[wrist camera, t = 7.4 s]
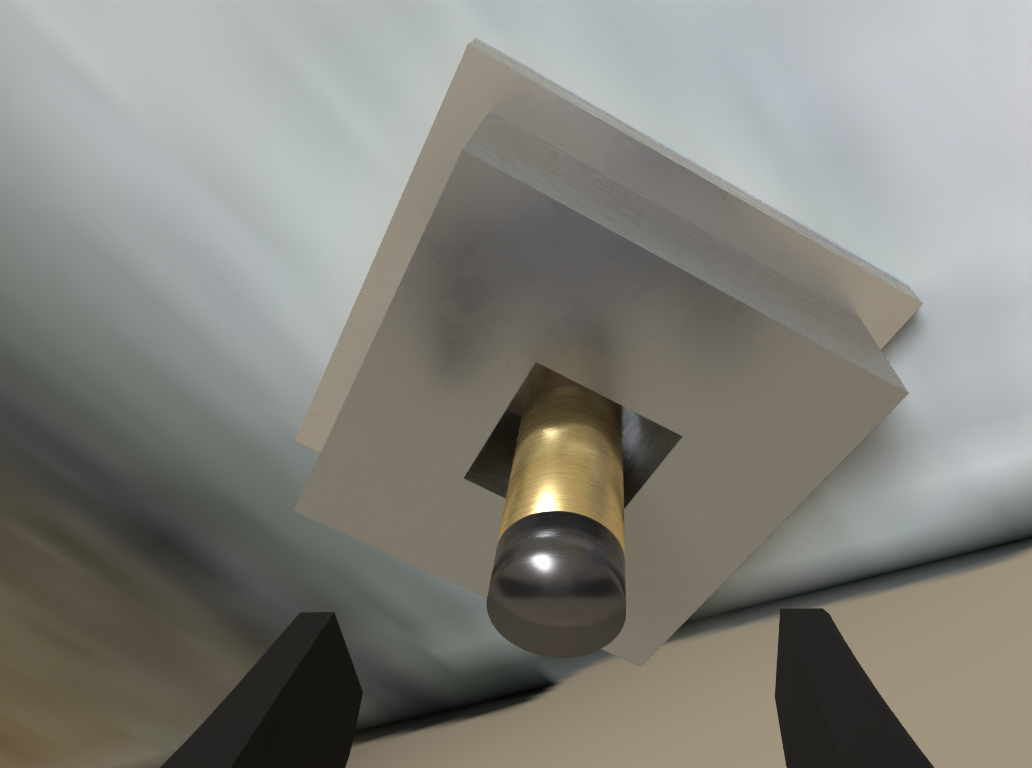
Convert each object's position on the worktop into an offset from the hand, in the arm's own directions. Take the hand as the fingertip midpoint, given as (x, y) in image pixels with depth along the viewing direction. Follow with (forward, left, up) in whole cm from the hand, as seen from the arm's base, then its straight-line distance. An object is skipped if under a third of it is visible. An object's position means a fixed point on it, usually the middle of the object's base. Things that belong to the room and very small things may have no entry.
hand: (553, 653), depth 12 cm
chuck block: (0, 0, -10) cm, 10 cm away
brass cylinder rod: (0, 0, -9) cm, 9 cm away
